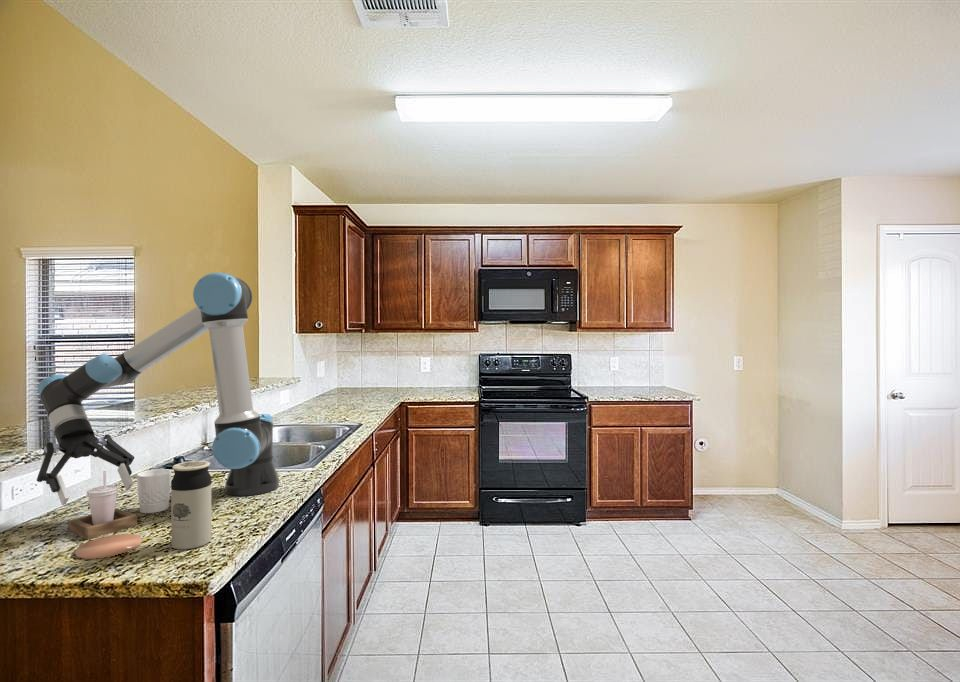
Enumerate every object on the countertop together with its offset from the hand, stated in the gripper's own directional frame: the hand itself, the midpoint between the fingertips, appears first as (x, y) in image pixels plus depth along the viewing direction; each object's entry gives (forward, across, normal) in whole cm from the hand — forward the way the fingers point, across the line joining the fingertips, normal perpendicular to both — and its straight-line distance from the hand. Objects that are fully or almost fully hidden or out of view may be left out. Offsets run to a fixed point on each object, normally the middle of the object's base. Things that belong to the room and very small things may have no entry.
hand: (99, 493), depth 127 cm
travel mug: (+26, -7, +14) cm, 30 cm away
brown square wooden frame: (+6, -1, -6) cm, 8 cm away
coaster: (+17, +4, +5) cm, 18 cm away
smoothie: (+7, -1, -6) cm, 9 cm away
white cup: (+4, -14, -8) cm, 17 cm away
